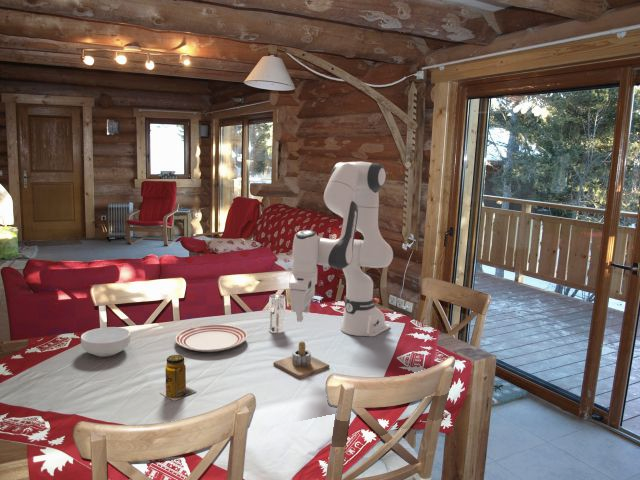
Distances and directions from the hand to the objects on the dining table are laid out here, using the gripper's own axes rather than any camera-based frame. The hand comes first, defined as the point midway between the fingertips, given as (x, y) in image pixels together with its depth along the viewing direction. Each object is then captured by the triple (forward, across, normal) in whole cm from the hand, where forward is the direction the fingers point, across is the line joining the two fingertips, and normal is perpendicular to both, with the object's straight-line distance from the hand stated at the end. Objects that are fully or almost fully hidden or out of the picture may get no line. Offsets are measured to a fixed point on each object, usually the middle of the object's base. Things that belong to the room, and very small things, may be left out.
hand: (303, 316), depth 188 cm
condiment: (+18, +30, -32) cm, 48 cm away
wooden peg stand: (+19, 0, 0) cm, 19 cm away
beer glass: (+19, -31, -18) cm, 41 cm away
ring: (+17, 0, 0) cm, 17 cm away
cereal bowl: (+19, +9, -71) cm, 74 cm away
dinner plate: (+19, -11, -39) cm, 45 cm away
